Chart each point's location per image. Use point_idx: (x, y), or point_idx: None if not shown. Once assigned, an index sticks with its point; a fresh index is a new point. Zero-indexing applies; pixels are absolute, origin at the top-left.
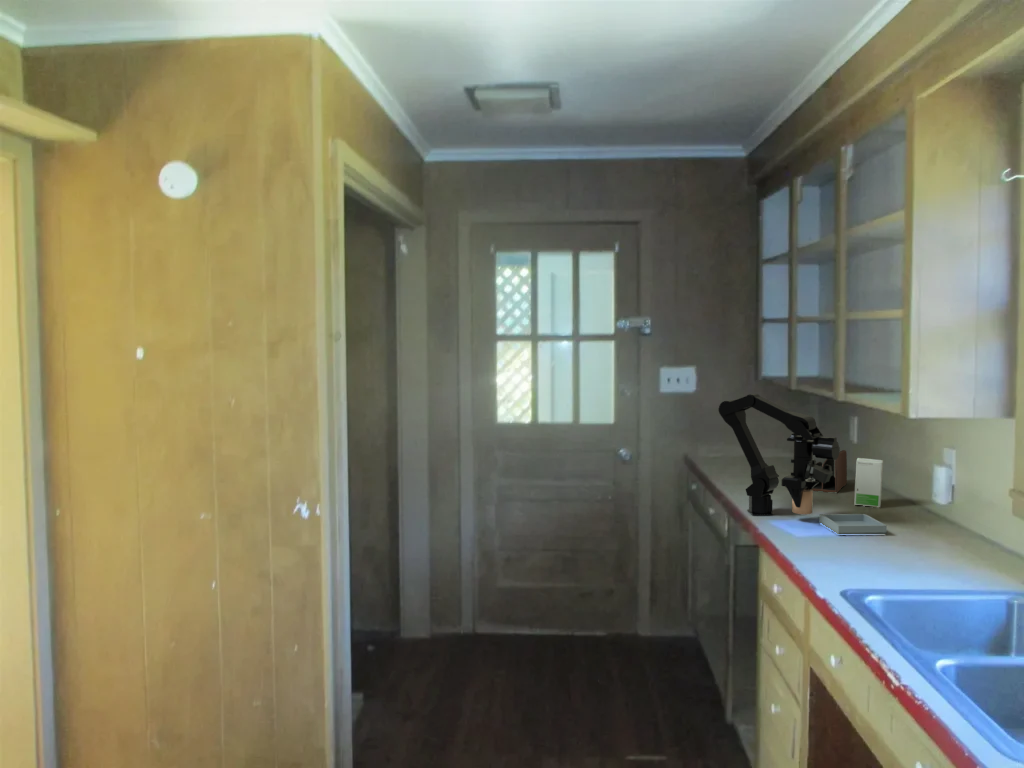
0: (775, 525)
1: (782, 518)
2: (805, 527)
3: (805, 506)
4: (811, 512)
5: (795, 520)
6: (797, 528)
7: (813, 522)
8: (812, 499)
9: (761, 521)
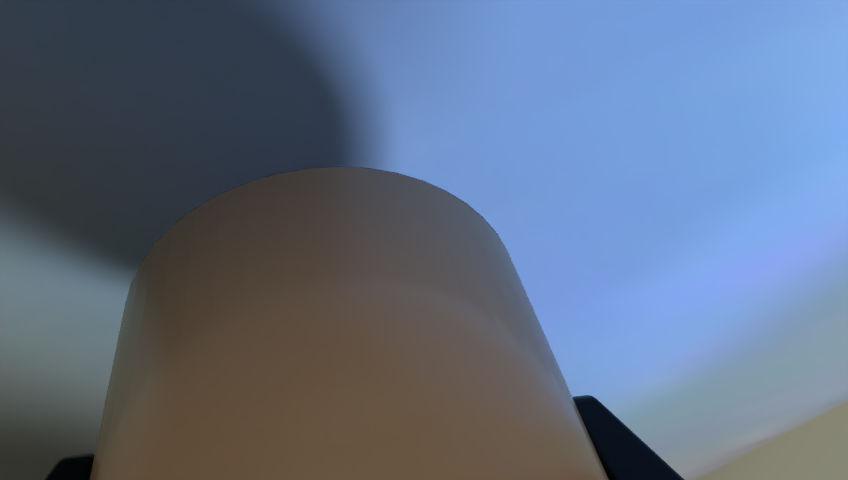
0: (746, 324)
1: None
2: (722, 14)
3: (543, 346)
4: (337, 181)
5: None
6: (825, 84)
7: (282, 45)
8: (289, 460)
9: None
